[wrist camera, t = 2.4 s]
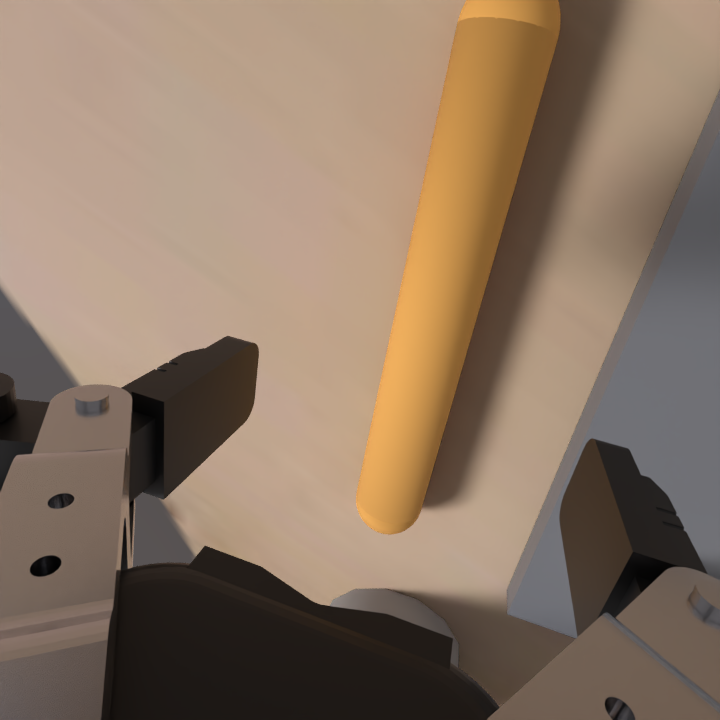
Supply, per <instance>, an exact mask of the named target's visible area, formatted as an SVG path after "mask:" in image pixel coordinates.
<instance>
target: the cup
mask: <svg viewBox="0 0 720 720" xmlns="http://www.w3.org/2000/svg"><path fill="white" fill-rule="evenodd" d="M330 606H333V607H341V608H348V609H355V610H363V611H370V612H378V613H385V614H389V615H392V616H395V617H397V618H400V619H403V620H405V621H408V622H411V623H413V624H416V625H419V626H421V627H424V628H427V629H429V630H432V631H435V632H437V633H440V634H443V635H445V636H448V637H451V638H453V644H452V653H451V663H452V664H454V665H455V666H456V667H458V665H459V644H458V642H457V640H456V639H455V637H454V635H453V634H452V632H451V630H450V629H449V627H448V625H447V624H446V622H445V620H444V619H443V618H441V617H440V616H439V615H437V614H436V613H435V612H433V611H432V610H431V609H429V608H428V607H427V606H426V605H424V604H423V603H422V602H420V601H419V600H417V599H415V598H412V597H409V596H406V595H403V594H400V593H397V592H394V591H391V590H388V589H354V590H352V591H350V592H348V593H346V594H344V595H342V596H340V597H338V598H336V599H334V600H333V601H332V603H331V605H330Z"/></svg>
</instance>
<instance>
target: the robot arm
mask: <svg viewBox="0 0 720 720" xmlns="http://www.w3.org/2000/svg"><path fill="white" fill-rule="evenodd" d="M258 357H259V350H258V346H257V345H256V344H255V343H251V342H248V341H244V340H241V339H237V338H234V337H230V336H226V337H224V338H222V339H221V340H219V341H217V342H216V343H214V344H212V345H210V346H209V347H207V348H205V349H204V348H203V349H199V350H195V351H190V352H186V353H183V354H181V355H179V356H178V357H176V358H174V359H172V360H170V361H169V363H165V364H163V365H161V366H160V367H158V368H157V370H155V369H154V370H152V371H151V372H149V373H147V374H145V375H143V376H142V377H140V378H138V379H136V380H134V381H133V382H131V383H129V384H127V385H125V386H124V387H122V388H119V387H115V386H110V385H84V386H79V387H74V388H71V389H68V390H65V391H63V392H61V393H59V394H58V395H56V396H55V397H54V398H53V399H52V400H51V402H50V403H49V402H39V401H30V400H20V399H16V393H15V385H14V381H13V379H12V378H11V377H10V376H8V375H6V374H3V373H0V720H720V580H718V579H716V578H714V577H712V576H710V575H708V573H707V571H706V569H705V568H704V566H703V564H702V562H701V560H700V558H699V556H698V554H697V552H696V550H695V548H694V546H693V544H692V542H691V540H690V538H689V536H688V534H687V532H686V531H684V526H683V524H682V522H681V520H680V518H679V517H678V516H676V514H677V512H676V510H675V508H674V507H673V505H672V503H671V501H670V499H669V497H668V495H667V494H666V493H665V492H664V491H663V490H662V489H661V488H660V487H659V486H658V485H657V484H656V483H655V482H654V481H653V480H652V479H651V478H650V477H646V476H643V475H641V474H640V471H639V469H638V467H637V465H636V463H635V460H634V458H633V456H632V454H631V452H630V450H629V449H628V448H625V447H622V446H618V445H614V444H611V443H607V442H604V441H600V440H597V439H593V438H592V439H590V440H589V441H588V442H587V443H586V445H585V447H584V449H583V451H582V454H581V456H580V458H579V461H578V463H577V465H576V468H575V470H574V472H573V475H572V477H571V479H570V482H569V484H568V486H567V489H566V491H565V493H564V496H563V499H562V503H561V507H560V515H559V521H560V529H561V535H562V541H563V548H564V554H565V560H566V567H567V573H568V579H569V586H570V592H571V598H572V605H573V611H574V618H575V624H576V630H577V638H576V639H575V640H574V641H573V642H572V643H570V644H569V645H568V646H567V647H566V648H565V649H564V650H563V651H562V652H561V653H559V654H558V655H557V656H556V657H555V658H554V659H553V660H552V661H551V662H549V663H548V664H547V665H546V666H545V667H544V668H543V669H542V670H541V671H540V672H538V673H537V674H536V675H535V676H534V677H533V678H532V679H531V680H530V681H529V682H527V683H526V684H525V685H524V686H523V687H522V688H521V689H520V690H519V691H517V692H516V693H515V694H514V695H513V696H512V697H511V698H510V699H509V700H508V701H506V702H505V703H504V704H503V705H502V706H501V707H499V706H498V705H497V703H496V702H495V701H494V700H493V699H492V698H491V696H490V695H489V694H488V693H487V692H486V691H485V690H484V689H483V688H482V687H481V686H480V685H479V684H478V683H477V682H475V681H474V680H473V679H472V678H471V677H469V676H468V675H467V674H466V673H464V672H463V671H462V670H461V669H459V668H458V667H456V666H455V665H454V664H452V663H451V653H452V644H453V638H451V637H448V636H445V635H443V634H440V633H437V632H435V631H432V630H429V629H427V628H424V627H421V626H419V625H416V624H413V623H411V622H408V621H405V620H403V619H400V618H397V617H395V616H392V615H389V614H385V613H378V612H370V611H363V610H355V609H348V608H341V607H333V606H326V605H320V604H317V603H315V602H313V601H311V600H309V599H308V598H306V597H305V596H303V595H302V594H301V593H299V592H298V591H296V590H295V589H293V588H292V587H290V586H289V585H287V584H286V583H284V582H283V581H281V580H280V579H279V578H277V577H276V576H274V575H273V574H271V573H270V572H268V571H267V570H265V569H264V568H262V567H261V566H258V565H255V564H253V563H250V562H247V561H245V560H242V559H239V558H237V557H234V556H231V555H228V554H226V553H223V552H220V551H218V550H215V549H212V548H210V547H207V546H204V548H203V549H202V550H201V551H200V552H199V554H198V555H197V556H196V557H195V559H194V560H193V561H192V562H191V564H188V563H157V564H148V565H143V566H137V567H133V546H134V524H135V498H136V497H137V496H138V495H139V494H140V493H142V492H144V493H147V494H150V495H152V496H155V497H158V498H161V499H163V500H164V499H165V498H166V497H167V496H168V495H169V494H170V493H171V492H172V491H173V490H174V489H175V488H176V487H177V486H179V485H180V484H181V483H182V482H183V481H184V480H185V479H186V478H187V477H188V476H189V475H190V474H191V473H192V472H193V471H194V470H195V469H196V468H197V467H198V466H200V465H201V464H202V463H203V462H204V461H205V460H206V459H207V458H208V457H209V456H210V455H211V454H212V453H213V452H214V451H215V450H216V449H217V448H218V447H219V446H221V445H222V444H223V443H224V442H225V441H226V440H227V439H228V438H229V437H230V436H231V435H232V434H233V433H234V432H235V431H236V430H237V429H238V428H239V427H240V426H242V425H243V424H244V423H245V421H246V420H247V419H248V417H249V415H250V413H251V411H252V408H253V405H254V399H255V389H256V378H257V367H258Z"/></svg>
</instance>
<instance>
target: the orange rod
mask: <svg viewBox="0 0 720 720" xmlns="http://www.w3.org/2000/svg"><path fill="white" fill-rule="evenodd" d="M560 19H561V12H560V6H559V1H558V0H466V2H465V4H464V6H463V8H462V10H461V13H460V16H459V20H458V23H457V27H456V32H455V36H454V41H453V46H452V50H451V55H450V60H449V64H448V69H447V74H446V78H445V83H444V88H443V92H442V97H441V102H440V106H439V111H438V116H437V120H436V125H435V130H434V134H433V139H432V144H431V148H430V153H429V158H428V162H427V167H426V172H425V176H424V181H423V186H422V190H421V195H420V200H419V204H418V209H417V214H416V218H415V223H414V228H413V232H412V237H411V242H410V246H409V251H408V256H407V260H406V265H405V270H404V274H403V279H402V284H401V288H400V293H399V298H398V302H397V307H396V312H395V316H394V321H393V325H392V330H391V335H390V339H389V344H388V349H387V353H386V358H385V363H384V367H383V372H382V377H381V381H380V386H379V391H378V395H377V400H376V405H375V409H374V414H373V419H372V423H371V428H370V433H369V437H368V442H367V447H366V451H365V456H364V461H363V465H362V470H361V475H360V479H359V484H358V489H357V494H356V504H357V509H358V512H359V514H360V516H361V518H362V520H363V521H364V522H365V523H366V524H367V525H368V526H369V527H370V528H371V529H373V530H375V531H377V532H379V533H383V534H396V533H400V532H403V531H405V530H406V529H408V528H409V527H410V526H412V525H413V523H414V522H415V521H416V520H417V518H418V516H419V514H420V512H421V509H422V505H423V502H424V498H425V495H426V491H427V488H428V485H429V481H430V478H431V474H432V471H433V467H434V464H435V460H436V457H437V454H438V450H439V447H440V443H441V440H442V436H443V433H444V430H445V426H446V423H447V419H448V416H449V412H450V409H451V405H452V402H453V399H454V395H455V392H456V388H457V385H458V381H459V378H460V374H461V371H462V368H463V364H464V361H465V357H466V354H467V350H468V347H469V344H470V340H471V337H472V333H473V330H474V326H475V323H476V319H477V316H478V313H479V309H480V306H481V302H482V299H483V295H484V292H485V289H486V285H487V282H488V278H489V275H490V271H491V268H492V264H493V261H494V258H495V254H496V251H497V247H498V244H499V240H500V237H501V234H502V230H503V227H504V223H505V220H506V216H507V213H508V209H509V206H510V203H511V199H512V196H513V192H514V189H515V185H516V182H517V178H518V175H519V172H520V168H521V165H522V161H523V158H524V154H525V151H526V148H527V144H528V141H529V137H530V134H531V130H532V127H533V123H534V120H535V117H536V113H537V110H538V106H539V103H540V99H541V96H542V93H543V89H544V86H545V82H546V79H547V75H548V72H549V68H550V65H551V62H552V58H553V55H554V51H555V48H556V44H557V41H558V37H559V32H560Z"/></svg>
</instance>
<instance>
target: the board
mask: <svg viewBox="0 0 720 720" xmlns="http://www.w3.org/2000/svg"><path fill="white" fill-rule="evenodd" d="M592 438H593V439H597V440H600V441H604V442H607V443H611V444H614V445H618V446H622V447H625V448H628V449H629V450H630V452H631V454H632V456H633V458H634V460H635V463H636V465H637V467H638V469H639V471H640V474H641V475H643V476H646V477H650V478H651V479H652V480H653V481H654V482H655V483H656V484H657V485H658V486H659V487H660V488H661V489H662V490H663V491H664V492H665V493H666V494H667V495H668V497H669V499H670V501H671V503H672V505H673V507H674V508H675V510H676V512H677V514H676V516H678V517H679V518H680V520H681V522H682V524H683V526H684V531H686V532H687V534H688V536H689V538H690V540H691V542H692V544H693V546H694V548H695V550H696V552H697V554H698V556H699V558H700V560H701V562H702V564H703V566H704V568H705V569H706V571H707V573H708V575H710V576H712V577H714V578H716V579H718V580H720V90H719V93H718V95H717V97H716V100H715V102H714V104H713V107H712V109H711V111H710V114H709V116H708V118H707V121H706V123H705V125H704V128H703V130H702V132H701V135H700V137H699V140H698V142H697V144H696V147H695V149H694V151H693V154H692V156H691V158H690V161H689V163H688V165H687V168H686V170H685V172H684V175H683V177H682V180H681V182H680V184H679V187H678V189H677V191H676V194H675V196H674V198H673V201H672V203H671V205H670V208H669V210H668V212H667V215H666V217H665V220H664V222H663V224H662V227H661V229H660V231H659V234H658V236H657V238H656V241H655V243H654V245H653V248H652V250H651V252H650V255H649V257H648V260H647V262H646V264H645V267H644V269H643V271H642V274H641V276H640V278H639V281H638V283H637V285H636V288H635V290H634V292H633V295H632V297H631V299H630V302H629V304H628V307H627V309H626V311H625V314H624V316H623V318H622V321H621V323H620V325H619V328H618V330H617V332H616V335H615V337H614V339H613V342H612V344H611V347H610V349H609V351H608V354H607V356H606V358H605V361H604V363H603V365H602V368H601V370H600V372H599V375H598V377H597V379H596V382H595V384H594V387H593V389H592V391H591V394H590V396H589V398H588V401H587V403H586V405H585V408H584V410H583V412H582V415H581V417H580V419H579V422H578V424H577V426H576V429H575V431H574V434H573V436H572V438H571V441H570V443H569V445H568V448H567V450H566V452H565V455H564V457H563V459H562V462H561V464H560V466H559V469H558V471H557V474H556V476H555V478H554V481H553V483H552V485H551V488H550V490H549V492H548V495H547V497H546V499H545V502H544V504H543V506H542V509H541V511H540V514H539V516H538V518H537V521H536V523H535V525H534V528H533V530H532V532H531V535H530V537H529V539H528V542H527V544H526V546H525V549H524V551H523V554H522V556H521V558H520V561H519V563H518V565H517V568H516V570H515V572H514V575H513V577H512V579H511V582H510V584H509V586H508V589H507V614H508V615H511V616H514V617H516V618H519V619H522V620H525V621H528V622H531V623H533V624H536V625H539V626H542V627H545V628H548V629H550V630H553V631H556V632H559V633H562V634H565V635H567V636H570V637H573V638H577V630H576V624H575V618H574V611H573V605H572V598H571V592H570V586H569V579H568V573H567V567H566V560H565V554H564V548H563V541H562V535H561V529H560V521H559V515H560V507H561V503H562V499H563V496H564V493H565V491H566V489H567V486H568V484H569V482H570V479H571V477H572V475H573V472H574V470H575V468H576V465H577V463H578V461H579V458H580V456H581V454H582V451H583V449H584V447H585V445H586V443H587V442H588V441H589V440H590V439H592Z"/></svg>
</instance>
